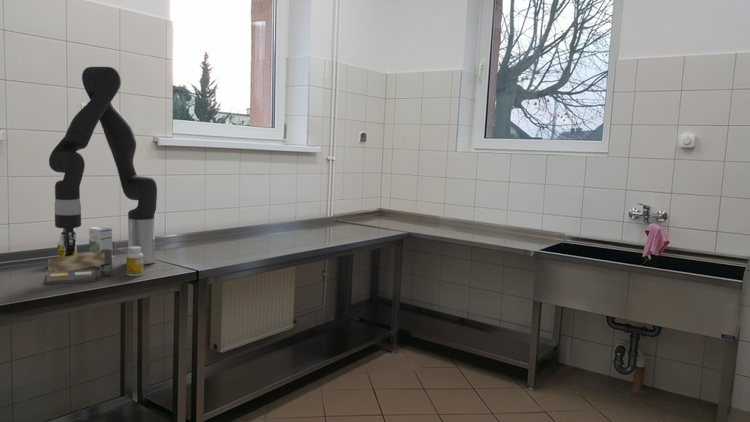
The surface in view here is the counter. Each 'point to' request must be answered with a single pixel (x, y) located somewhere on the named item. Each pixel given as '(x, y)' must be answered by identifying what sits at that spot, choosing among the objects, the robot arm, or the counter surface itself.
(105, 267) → the pivot post
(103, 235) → the syrup box
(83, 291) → the counter surface
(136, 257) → the supplement bottle
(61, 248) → the pill bottle
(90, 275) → the label mat
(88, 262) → the tan wooden bar
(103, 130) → the robot arm
